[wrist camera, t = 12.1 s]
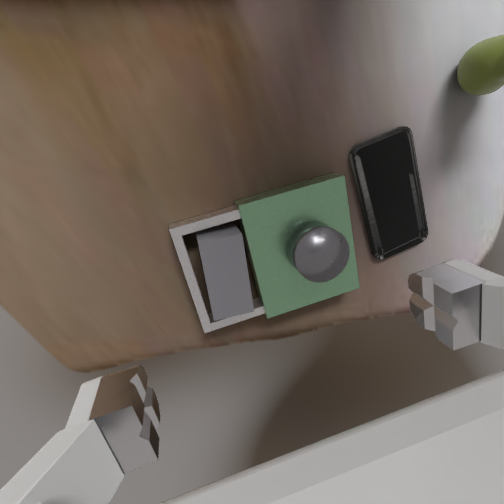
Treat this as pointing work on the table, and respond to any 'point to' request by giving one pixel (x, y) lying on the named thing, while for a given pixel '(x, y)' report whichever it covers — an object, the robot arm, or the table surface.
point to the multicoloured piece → (284, 246)
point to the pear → (483, 67)
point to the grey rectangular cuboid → (225, 270)
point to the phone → (389, 191)
